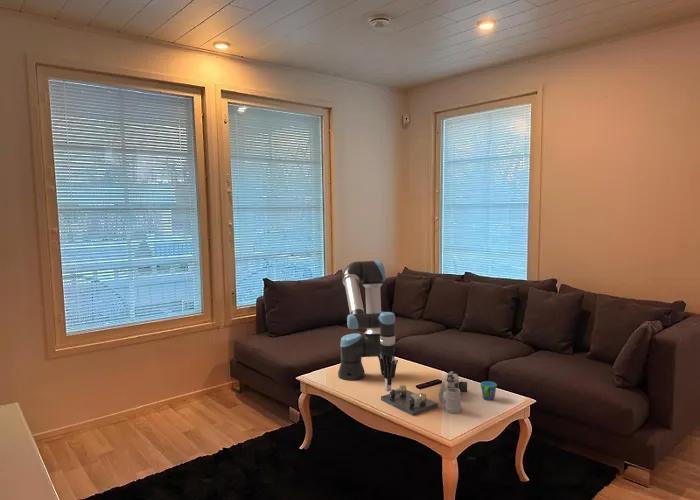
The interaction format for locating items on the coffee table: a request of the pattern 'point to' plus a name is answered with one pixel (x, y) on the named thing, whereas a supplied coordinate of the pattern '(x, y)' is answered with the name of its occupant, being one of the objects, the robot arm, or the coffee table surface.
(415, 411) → the control panel
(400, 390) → the knob left
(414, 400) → the knob right
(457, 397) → the mug
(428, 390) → the coffee table surface
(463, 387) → the camera
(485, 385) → the snack cup
